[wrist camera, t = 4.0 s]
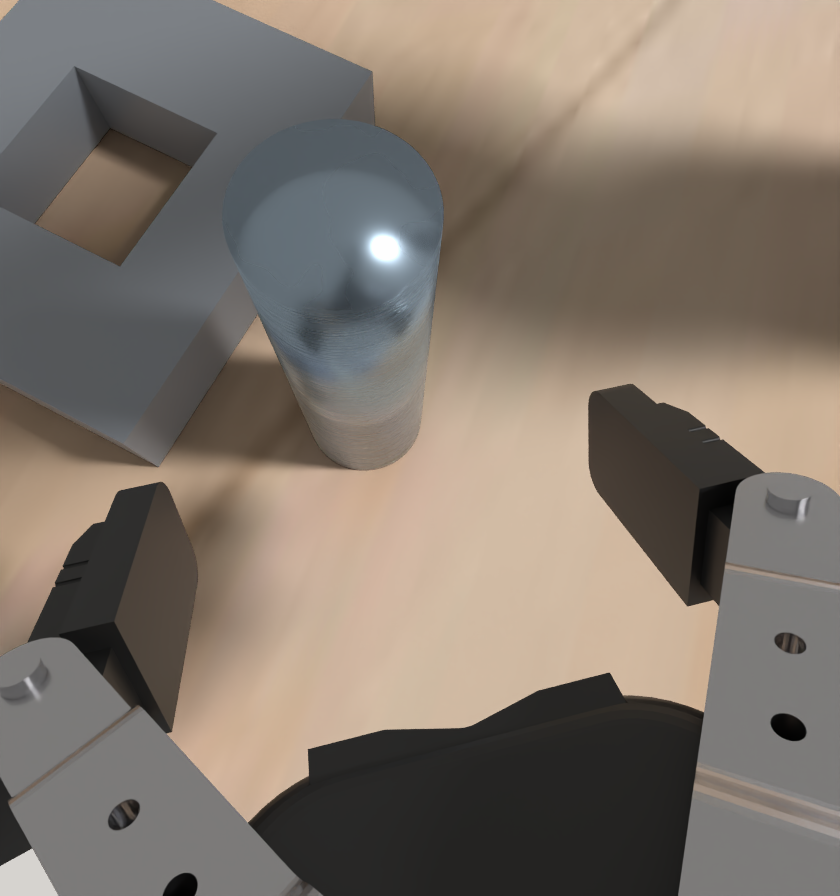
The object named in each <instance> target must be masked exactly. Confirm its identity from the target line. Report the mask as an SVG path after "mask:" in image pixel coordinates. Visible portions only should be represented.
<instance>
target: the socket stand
mask: <svg viewBox="0 0 840 896" xmlns="http://www.w3.org/2000/svg"><path fill="white" fill-rule="evenodd" d="M324 119H346V120H353V121H360V122H363V123H367V124H371V125H374V126H375V116H374V94H373V72H372V71H370V70H368V69H365V68H363V67H361V66H359V65H356V64H354V63H352V62H350V61H347V60H345V59H343V58H341V57H338V56H336V55H334V54H332V53H329V52H327V51H325V50H323V49H320V48H318V47H316V46H314V45H312V44H309V43H307V42H305V41H303V40H300V39H298V38H296V37H294V36H291V35H289V34H287V33H285V32H282V31H280V30H278V29H276V28H273V27H271V26H269V25H267V24H264V23H262V22H260V21H258V20H256V19H253V18H251V17H249V16H247V15H244V14H242V13H240V12H238V11H235V10H233V9H231V8H229V7H226V6H224V5H222V4H220V3H217V2H215V1H213V0H19V1H18V2H17V3H16V4H15V6H14V7H13V8H12V9H11V10H10V11H9V12H8V13H7V14H6V16H5V17H4V18H3V19H2V20H1V21H0V384H2V385H4V386H6V387H8V388H10V389H12V390H14V391H16V392H18V393H19V394H21V395H23V396H25V397H27V398H29V399H31V400H33V401H35V402H36V403H38V404H40V405H42V406H44V407H46V408H48V409H50V410H52V411H53V412H55V413H57V414H59V415H61V416H63V417H65V418H67V419H69V420H70V421H72V422H74V423H76V424H78V425H80V426H82V427H84V428H86V429H88V430H89V431H91V432H93V433H95V434H97V435H99V436H101V437H103V438H105V439H106V440H108V441H110V442H112V443H114V444H116V445H118V446H120V447H122V448H123V449H125V450H127V451H129V452H131V453H133V454H135V455H137V456H139V457H140V458H142V459H144V460H146V461H148V462H150V463H152V464H154V465H156V466H157V467H159V466H160V464H161V462H162V461H163V459H164V458H165V456H166V455H167V453H168V452H169V450H170V449H171V447H172V445H173V444H174V442H175V441H176V439H177V438H178V436H179V435H180V433H181V432H182V430H183V428H184V427H185V425H186V424H187V422H188V421H189V419H190V418H191V416H192V415H193V413H194V411H195V410H196V408H197V407H198V405H199V404H200V402H201V401H202V399H203V398H204V396H205V394H206V393H207V391H208V390H209V388H210V387H211V385H212V384H213V382H214V381H215V379H216V377H217V376H218V374H219V373H220V371H221V370H222V368H223V367H224V365H225V364H226V362H227V360H228V359H229V357H230V356H231V354H232V353H233V351H234V350H235V348H236V347H237V345H238V343H239V342H240V340H241V339H242V337H243V336H244V334H245V333H246V331H247V330H248V328H249V326H250V325H251V323H252V322H253V320H254V319H255V317H256V316H257V314H258V313H257V311H256V308H255V306H254V304H253V302H252V300H251V297H250V295H249V293H248V291H247V288H246V286H245V284H244V282H243V280H242V277H241V275H240V273H239V271H238V268H237V266H236V264H235V262H234V260H233V257H232V255H231V253H230V251H229V248H228V245H227V243H226V240H225V236H224V231H223V226H222V208H223V200H224V196H225V192H226V189H227V186H228V184H229V182H230V179H231V177H232V175H233V173H234V172H235V170H236V169H237V167H238V165H239V164H240V163H241V162H242V160H243V159H244V158H245V157H246V155H248V154H249V153H250V152H251V151H252V150H253V149H254V148H255V147H256V146H257V145H259V144H260V143H261V142H263V141H264V140H265V139H267V138H268V137H270V136H272V135H274V134H275V133H277V132H279V131H281V130H284V129H286V128H289V127H291V126H294V125H297V124H301V123H304V122H309V121H315V120H324ZM110 128H111V129H113V130H116V131H118V132H120V133H122V134H124V135H126V136H128V137H130V138H132V139H134V140H137V141H139V142H141V143H143V144H145V145H147V146H149V147H151V148H153V149H155V150H158V151H160V152H162V153H164V154H166V155H168V156H170V157H172V158H174V159H176V160H179V161H181V162H183V163H185V164H187V165H189V166H191V167H192V169H191V170H190V171H189V173H188V174H187V175H186V177H185V178H184V180H183V181H182V182H181V184H180V185H179V186H178V188H177V189H176V190H175V192H174V193H173V195H172V196H171V197H170V199H169V200H168V201H167V203H166V204H165V206H164V207H163V208H162V210H161V211H160V212H159V214H158V215H157V216H156V218H155V219H154V221H153V222H152V223H151V225H150V226H149V227H148V229H147V230H146V232H145V233H144V234H143V236H142V237H141V238H140V240H139V241H138V242H137V244H136V245H135V247H134V248H133V249H132V251H131V252H130V253H129V255H128V256H127V258H126V259H125V260H124V262H123V263H122V264H121V266H118V265H116V264H114V263H112V262H110V261H108V260H106V259H104V258H102V257H100V256H98V255H96V254H94V253H92V252H90V251H88V250H86V249H84V248H82V247H80V246H78V245H76V244H74V243H72V242H70V241H68V240H66V239H64V238H62V237H60V236H58V235H56V234H54V233H51V232H49V231H47V230H45V229H43V228H41V227H39V226H37V225H35V222H36V221H37V220H38V219H39V217H40V216H41V215H42V214H43V212H44V211H45V210H46V209H47V207H48V206H49V205H50V203H51V202H52V201H53V200H54V198H55V197H56V196H57V195H58V193H59V192H60V191H61V190H62V188H63V187H64V186H65V184H66V183H67V182H68V181H69V179H70V178H71V177H72V176H73V174H74V173H75V172H76V171H77V169H78V168H79V167H80V166H81V164H82V163H83V162H84V160H85V159H86V158H87V157H88V155H89V154H90V153H91V152H92V150H93V149H94V148H95V147H96V145H97V144H98V143H99V141H100V140H101V139H102V138H103V136H104V135H105V134H106V133H107V131H108V130H109V129H110Z"/></svg>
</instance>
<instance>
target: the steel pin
mask: <svg viewBox="0 0 840 896" xmlns="http://www.w3.org/2000/svg"><path fill="white" fill-rule="evenodd" d="M443 221H444V207H443V200H442V195H441V191H440V188H439V185H438V182H437V180H436V178H435V176H434V174H433V172H432V170H431V169H430V167H429V166H428V164H427V163H426V161H425V160H424V159H423V158H422V157H421V155H420V154H419V153H418V152H417V151H416V150H415V149H414V148H412V147H411V146H410V145H409V144H408V143H407V142H405V141H404V140H402V139H401V138H399V137H398V136H396V135H394V134H392V133H390V132H389V131H387V130H385V129H382V128H379V127H377V126H374V125H371V124H367V123H363V122H360V121H353V120H346V119H324V120H315V121H309V122H304V123H301V124H297V125H294V126H291V127H289V128H286V129H284V130H281V131H279V132H277V133H275V134H274V135H272V136H270V137H268V138H267V139H265V140H264V141H263V142H261V143H260V144H259V145H257V146H256V147H255V148H254V149H253V150H252V151H251V152H250V153H249V154H248V155H246V157H245V158H244V159H243V160H242V162H241V163H240V164H239V165H238V167H237V169H236V170H235V172H234V173H233V175H232V177H231V179H230V182H229V184H228V186H227V189H226V192H225V196H224V200H223V208H222V226H223V231H224V236H225V240H226V243H227V245H228V248H229V251H230V253H231V255H232V257H233V260H234V262H235V264H236V266H237V268H238V271H239V273H240V275H241V277H242V280H243V282H244V284H245V286H246V288H247V291H248V293H249V295H250V297H251V300H252V302H253V304H254V306H255V308H256V311H257V313H258V315H259V317H260V319H261V322H262V324H263V326H264V328H265V331H266V333H267V335H268V337H269V339H270V342H271V344H272V346H273V348H274V351H275V353H276V355H277V357H278V359H279V362H280V364H281V366H282V368H283V370H284V373H285V375H286V377H287V379H288V382H289V384H290V386H291V388H292V390H293V393H294V395H295V397H296V399H297V402H298V404H299V406H300V408H301V410H302V413H303V415H304V417H305V419H306V421H307V424H308V426H309V428H310V430H311V433H312V435H313V437H314V439H315V441H316V443H317V445H318V446H319V448H320V449H321V450H322V451H323V453H324V454H325V455H326V456H327V457H329V458H330V459H331V460H333V461H334V462H336V463H338V464H339V465H342V466H344V467H347V468H350V469H355V470H375V469H379V468H383V467H385V466H388V465H390V464H392V463H394V462H396V461H397V460H399V459H400V458H401V457H402V456H403V455H405V454H406V453H407V451H408V450H409V449H410V448H411V447H412V445H413V443H414V442H415V440H416V438H417V435H418V432H419V429H420V423H421V415H422V406H423V397H424V388H425V380H426V371H427V362H428V353H429V344H430V335H431V327H432V318H433V309H434V300H435V291H436V282H437V274H438V265H439V256H440V247H441V238H442V229H443Z"/></svg>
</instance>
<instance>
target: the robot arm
mask: <svg viewBox="0 0 840 896" xmlns="http://www.w3.org/2000/svg"><path fill="white" fill-rule="evenodd" d="M588 429H589V469H590V474H591V478H592V481H593V484H594V486H595V488H596V490H597V492H598V493H599V495H600V496H601V497H602V498H603V500H604V501H605V502H606V504H607V505H608V506H609V507H610V509H611V510H612V511H613V512H614V514H615V515H616V516H617V518H618V519H619V520H620V521H621V523H622V524H623V525H624V526H625V528H626V529H627V530H628V532H629V533H630V534H631V535H632V537H633V538H634V539H635V540H636V542H637V543H638V544H639V546H640V547H641V548H642V549H643V551H644V552H645V553H646V554H647V556H648V557H649V558H650V560H651V561H652V562H653V563H654V565H655V566H656V567H657V568H658V570H659V571H660V572H661V573H662V575H663V576H664V577H665V579H666V580H667V581H668V582H669V584H670V585H671V586H672V587H673V589H674V590H675V591H676V593H677V594H678V595H679V596H680V598H681V599H682V600H683V601H684V603H685V604H686V605H687V606H691V605H695V604H699V603H703V602H707V601H711V600H714V601H715V602H716V603H717V604H718V606H719V612H718V619H717V626H716V633H715V640H714V647H713V654H712V661H711V669H710V676H709V683H708V690H707V697H706V704H705V711H704V712H702V711H699V710H697V709H694V708H692V707H689V706H686V705H682V704H679V703H675V702H672V701H668V700H663V699H657V698H652V697H643V696H623V695H622V693H621V692H620V690H619V688H618V686H617V685H616V683H615V681H614V679H613V677H612V676H611V674H610V673H606V674H602V675H598V676H594V677H590V678H586V679H582V680H578V681H574V682H571V683H567V684H563V685H559V686H555V687H551V688H547V689H543V690H539V691H537V692H535V693H533V694H531V695H529V696H527V697H525V698H523V699H522V700H520V701H518V702H516V703H514V704H512V705H510V706H508V707H507V708H505V709H503V710H501V711H499V712H497V713H495V714H493V715H491V716H490V717H488V718H486V719H484V720H482V721H480V722H478V723H476V724H474V725H472V726H469V727H466V728H451V729H401V730H382V731H378V732H374V733H370V734H366V735H362V736H359V737H355V738H351V739H347V740H343V741H339V742H335V743H331V744H327V745H323V746H319V747H315V748H311V749H308V761H309V776H308V777H306V778H304V779H302V780H301V781H299V782H297V783H295V784H294V785H292V786H291V787H289V788H288V789H286V790H285V791H283V792H282V793H280V794H279V795H278V796H277V797H275V798H274V799H273V800H272V801H271V802H269V803H268V804H267V805H266V806H265V807H263V808H262V809H261V810H260V811H259V812H258V813H257V814H256V815H255V816H254V817H253V818H252V819H251V820H250V821H249V822H248V823H247V822H246V820H245V819H244V818H243V817H242V816H241V815H240V814H239V813H238V812H237V811H236V810H235V808H234V807H233V806H232V805H231V804H230V803H229V802H228V801H227V800H226V799H225V798H224V796H223V795H222V794H221V793H220V792H219V791H218V790H217V789H216V788H215V787H214V786H213V784H212V783H211V782H210V781H209V780H208V779H207V778H206V777H205V776H204V775H203V774H202V772H201V771H200V770H199V769H198V768H197V767H196V766H195V765H194V764H193V763H192V762H191V760H190V759H189V758H188V757H187V756H186V755H185V754H184V753H183V752H182V751H181V749H180V748H179V747H178V746H177V745H176V744H175V743H174V742H173V741H172V740H171V739H170V737H169V736H168V735H167V734H166V733H170V732H172V728H173V722H174V717H175V711H176V705H177V699H178V693H179V688H180V682H181V676H182V670H183V664H184V658H185V653H186V647H187V641H188V635H189V629H190V624H191V618H192V612H193V606H194V600H195V594H196V589H197V582H198V570H197V563H196V558H195V554H194V551H193V548H192V545H191V543H190V540H189V538H188V535H187V533H186V530H185V528H184V525H183V523H182V520H181V518H180V516H179V513H178V511H177V508H176V506H175V503H174V501H173V498H172V496H171V493H170V491H169V489H168V487H167V486H166V485H165V484H164V483H163V482H158V483H153V484H149V485H144V486H139V487H134V488H130V489H125V490H120V491H118V492H117V494H116V496H115V498H114V501H113V503H112V505H111V508H110V510H109V513H108V515H107V518H106V520H105V522H101V523H96V524H93V525H92V526H91V527H90V528H89V529H88V530H87V531H86V532H85V533H84V534H83V535H82V536H81V537H80V538H79V539H78V540H77V541H76V542H75V543H74V544H73V545H72V547H71V549H70V551H69V554H68V556H67V558H66V560H65V562H64V564H63V567H64V569H63V570H61V571H60V573H59V575H58V577H57V580H56V582H55V585H56V587H53V588H52V590H51V593H50V595H49V597H48V599H47V601H46V604H45V606H44V608H43V610H42V612H41V614H40V617H39V619H38V621H37V623H36V625H35V627H34V630H33V632H32V634H31V636H30V638H29V640H28V643H26V644H23V645H21V646H19V647H17V648H14V649H13V650H11V651H9V652H7V653H6V654H4V655H2V656H1V657H0V866H1V865H3V864H4V863H6V862H8V861H10V860H12V859H14V858H15V857H17V856H19V855H21V854H23V853H25V852H26V851H28V850H30V849H32V848H33V850H34V852H35V854H36V856H37V857H38V859H39V861H40V863H41V865H42V866H43V868H44V870H45V872H46V874H47V875H48V877H49V879H50V881H51V883H52V884H53V886H54V888H55V890H56V892H57V894H58V895H59V896H840V496H839V495H838V494H837V493H836V492H835V491H834V490H832V489H831V488H830V487H828V486H826V485H825V484H823V483H821V482H819V481H817V480H814V479H811V478H808V477H805V476H801V475H797V474H791V473H780V472H771V473H765V472H763V471H762V470H761V469H760V468H758V467H757V466H756V465H754V464H753V463H752V462H751V461H749V460H748V459H747V458H746V457H744V456H743V455H742V454H741V453H739V452H738V451H737V450H736V449H734V448H733V447H732V446H730V445H729V444H728V443H727V442H725V441H724V440H720V438H719V436H718V435H717V434H715V433H714V432H713V431H712V430H710V429H709V428H708V429H706V427H705V425H704V424H703V423H701V422H700V421H699V420H698V419H696V418H695V417H694V416H693V415H691V414H690V413H689V412H687V411H684V410H681V409H679V408H676V407H674V406H671V405H668V404H666V403H659V404H656V403H655V402H654V401H653V400H652V399H650V398H649V397H648V396H647V395H646V394H644V393H643V392H642V391H641V390H640V389H638V388H637V387H636V386H635V385H633V384H627V385H622V386H617V387H613V388H608V389H603V390H598V391H594V392H592V393H591V395H590V398H589V405H588Z"/></svg>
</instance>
